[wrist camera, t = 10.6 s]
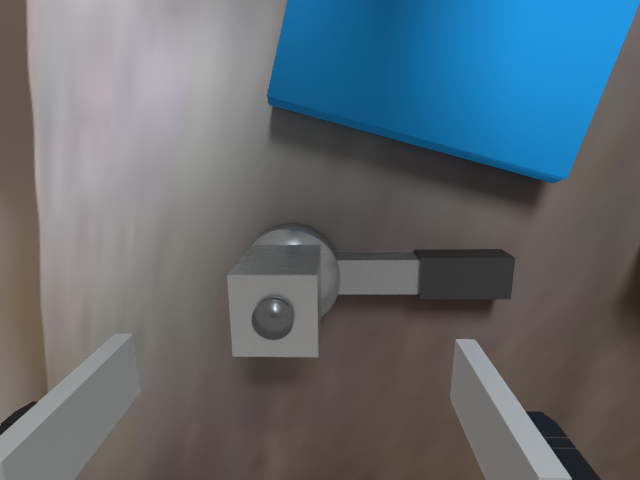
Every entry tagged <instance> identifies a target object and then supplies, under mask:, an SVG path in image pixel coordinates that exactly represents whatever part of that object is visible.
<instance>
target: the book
mask: <svg viewBox="0 0 640 480" xmlns="http://www.w3.org/2000/svg"><path fill="white" fill-rule="evenodd" d="M639 4H640V0H288V2H287V7H286V11H285V16H284V20H283V25H282V29H281V34H280V39H279V43H278V48H277V52H276V57H275V61H274V66H273V70H272V75H271V80H270V84H269V89H268V93H267V97H268V103H269V105H271V106H275V107H278V108H282V109H286V110H289V111H293V112H297V113H300V114H304V115H307V116H311V117H315V118H318V119H322V120H326V121H329V122H333V123H336V124H340V125H344V126H347V127H351V128H355V129H358V130H362V131H366V132H369V133H373V134H376V135H380V136H384V137H387V138H391V139H395V140H398V141H402V142H405V143H409V144H413V145H416V146H420V147H424V148H427V149H431V150H434V151H438V152H442V153H445V154H449V155H453V156H456V157H460V158H463V159H467V160H471V161H474V162H478V163H482V164H485V165H489V166H492V167H496V168H500V169H503V170H507V171H511V172H514V173H518V174H521V175H525V176H529V177H532V178H536V179H540V180H543V181H547V182H550V183H555V182H558V181H560V180H562V179H567V177H568V174H569V172H570V170H571V167H572V165H573V162H574V160H575V158H576V155H577V153H578V150H579V148H580V146H581V143H582V141H583V138H584V136H585V134H586V131H587V129H588V126H589V124H590V122H591V119H592V117H593V114H594V112H595V109H596V107H597V105H598V102H599V100H600V97H601V95H602V93H603V90H604V88H605V85H606V83H607V81H608V78H609V76H610V73H611V71H612V69H613V66H614V64H615V61H616V59H617V56H618V54H619V52H620V49H621V47H622V44H623V42H624V40H625V37H626V35H627V32H628V30H629V28H630V25H631V23H632V20H633V18H634V16H635V13H636V11H637V8H638V6H639Z"/></svg>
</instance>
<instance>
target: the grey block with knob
mask: <svg viewBox="0 0 640 480" xmlns="http://www.w3.org/2000/svg"><path fill="white" fill-rule="evenodd" d="M227 282H228V297H229V311H230V326H231V340H232V355H233V357H318V355H319V340H320V326H321V312H322V292H321V245H251V246H250V247H249V249H248V250H247V251H246V252H245V254H244V255H243V256H242V257H241V259H240V260H239V261H238V262H237V263H236V265H235V266H234V267H233V268H232V270H231V271H230V272H229V273H228V274H227Z"/></svg>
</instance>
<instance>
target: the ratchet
mask: <svg viewBox="0 0 640 480" xmlns="http://www.w3.org/2000/svg"><path fill="white" fill-rule="evenodd" d="M252 245H321V292H322V312H321V317H322V316H323V315H324V314H326V313H327V311H328V310H329V309H330V308H331V307H332V305H333V304H334V302H335V300H336V298H337V295H338V294H417V296H418V298H419V299H511V291H512V282H513V272H514V263H515V257H513V256H511V255H510V254H508V253H507V252H505V251H503V250H502V249H465V250H415V253H336V251H335V249H334V247H333V245H332V244H331V243H330V241H329V240H328V239H327V238H326V237H325V236H324V235H323V234H321V233H320V232H319V231H317V230H315V229H313V228H311V227H309V226H306V225H302V224H294V223H289V224H281V225H277V226H275V227H272V228H270V229H268V230H266V231H265V232H263V233H262V234H261V235H260V236H259V237H258V238H257V239H256V240H255V241H254V243H253V244H252Z"/></svg>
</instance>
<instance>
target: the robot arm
mask: <svg viewBox="0 0 640 480" xmlns="http://www.w3.org/2000/svg"><path fill="white" fill-rule="evenodd" d="M140 393H141V390H140V383H139V375H138V368H137V360H136V353H135V345H134V337H133V334H114V335H113V336H112V337H111V338H109V339H108V340H107V341H106V342H105V343H104V344H103V345H102V346H100V347H99V348H98V349H97V350H96V351H95V352H94V353H93V354H91V355H90V356H89V357H88V358H87V359H86V360H85V361H84V362H82V363H81V364H80V365H79V366H78V367H77V368H76V369H75V370H73V371H72V372H71V373H70V374H69V375H68V376H67V377H66V378H64V379H63V380H62V381H61V382H60V383H59V384H58V385H57V386H56V387H54V388H53V389H52V390H51V391H50V392H49V393H48V394H47V395H45V396H44V397H43V398H42V399H41V400H40V401H39V402H31V403H30V404H28V405H26V406H24V407H23V408H21V409H19V410H17V411H16V412H14V413H13V414H12V415H11V416H9V417H8V418H7V419H6V420H5V421H4V422H2V423H1V426H0V480H74V479H75V478H76V477H77V475H78V474H79V473H80V471H81V470H82V469H83V468H84V466H85V465H86V464H87V462H88V461H89V460H90V458H91V457H92V456H93V454H94V453H95V452H96V451H97V449H98V448H99V447H100V445H101V444H102V443H103V441H104V440H105V439H106V437H107V436H108V435H109V433H110V432H111V431H112V430H113V428H114V427H115V426H116V424H117V423H118V422H119V420H120V419H121V418H122V416H123V415H124V414H125V412H126V411H127V410H128V409H129V407H130V406H131V405H132V403H133V402H134V401H135V399H136V398H137V397H138V395H139V394H140ZM450 400H451V402H452V405H453V407H454V409H455V411H456V414H457V416H458V418H459V420H460V423H461V425H462V427H463V429H464V432H465V434H466V436H467V438H468V441H469V443H470V445H471V447H472V450H473V452H474V454H475V457H476V459H477V461H478V463H479V466H480V468H481V470H482V472H483V475H484V477H485V479H486V480H601V479H600V478H599V477H598V475H597V474H596V473H595V472H594V470H593V469H592V468H591V466H590V465H589V464H588V463H587V461H586V460H585V459H584V457H583V456H582V455H581V454H580V452H579V451H578V450H576V448H575V446H574V445H573V443H572V442H571V441H570V439H567V436H566V434H565V433H564V432H563V430H562V429H561V428H560V427H559V425H558V424H557V423H556V422H555V421H553V420H552V419H551V418H549V417H548V416H547V415H545V414H544V413H542V412H528V411H525V410H524V409H523V408H522V406H521V405H520V403H519V402H518V400H517V399H516V398H515V396H514V395H513V393H512V392H511V390H510V389H509V388H508V386H507V385H506V383H505V382H504V380H503V379H502V377H501V376H500V375H499V373H498V372H497V370H496V369H495V367H494V366H493V365H492V363H491V362H490V360H489V359H488V357H487V356H486V355H485V353H484V352H483V350H482V349H481V347H480V346H479V344H478V343H477V342H476V340H475V339H456V340H455V351H454V362H453V372H452V383H451V394H450Z"/></svg>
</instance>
